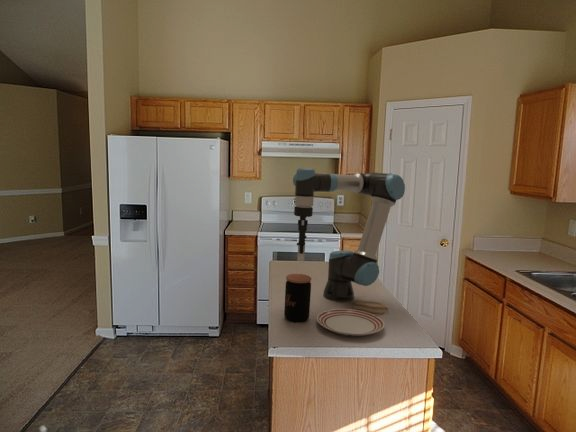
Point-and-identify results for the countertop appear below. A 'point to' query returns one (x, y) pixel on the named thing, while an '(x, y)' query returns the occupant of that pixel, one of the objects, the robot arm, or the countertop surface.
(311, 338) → the countertop surface
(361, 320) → the dinner plate
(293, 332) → the countertop surface
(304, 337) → the countertop surface
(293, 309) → the coffee jar
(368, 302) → the cork trivet
